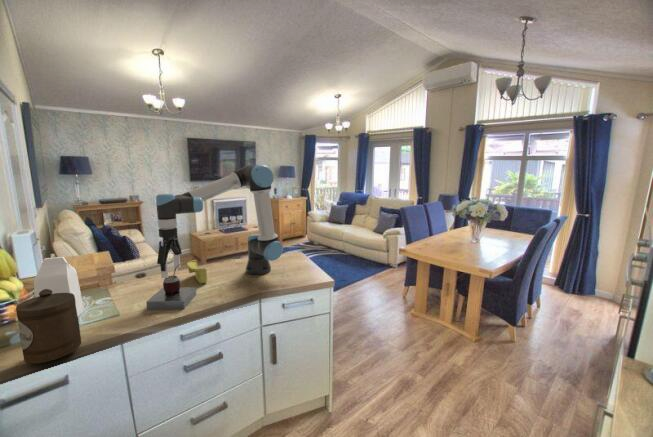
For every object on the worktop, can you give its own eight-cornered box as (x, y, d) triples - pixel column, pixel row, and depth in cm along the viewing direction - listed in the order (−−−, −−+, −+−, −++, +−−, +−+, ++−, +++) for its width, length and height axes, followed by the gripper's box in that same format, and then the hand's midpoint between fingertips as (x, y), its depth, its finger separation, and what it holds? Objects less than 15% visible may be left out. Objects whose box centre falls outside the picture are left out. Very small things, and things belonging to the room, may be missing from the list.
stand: (196, 294, 152) (195, 287, 151) (184, 309, 136) (183, 300, 136) (163, 295, 151) (162, 287, 150) (147, 310, 135) (146, 301, 134)
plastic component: (207, 283, 166) (206, 266, 165) (192, 286, 162) (191, 269, 160) (197, 274, 182) (196, 258, 180) (184, 276, 178) (183, 260, 176)
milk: (37, 326, 120) (27, 263, 116) (49, 314, 130) (41, 255, 126) (74, 321, 125) (67, 260, 121) (83, 309, 135) (77, 252, 131)
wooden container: (28, 347, 106) (19, 287, 102) (82, 334, 115) (75, 279, 111) (19, 370, 94) (8, 303, 91) (80, 353, 103) (72, 292, 99)
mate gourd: (164, 291, 145) (162, 261, 143) (183, 289, 148) (181, 259, 146) (163, 297, 138) (160, 266, 136) (182, 295, 141) (180, 264, 139)
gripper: (170, 223, 150) (174, 264, 153) (145, 233, 125) (149, 282, 129) (186, 222, 150) (189, 264, 154) (164, 233, 126) (168, 282, 129)
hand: (171, 272), depth 141 cm, fingers open, 13 cm apart
